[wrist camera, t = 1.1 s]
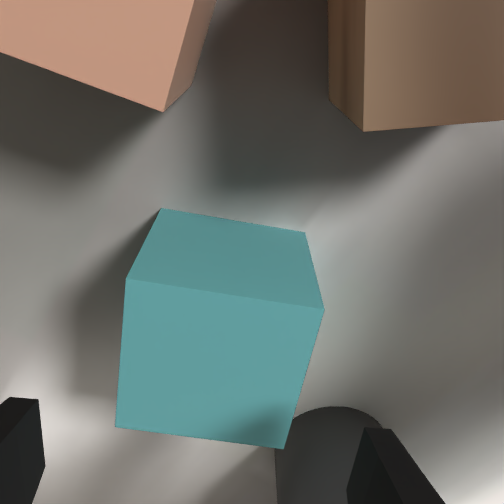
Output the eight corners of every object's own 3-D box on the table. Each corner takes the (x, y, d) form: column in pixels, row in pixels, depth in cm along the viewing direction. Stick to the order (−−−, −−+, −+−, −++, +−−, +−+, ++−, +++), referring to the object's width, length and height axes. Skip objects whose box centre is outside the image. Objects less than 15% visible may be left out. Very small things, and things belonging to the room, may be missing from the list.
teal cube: (304, 231, 16) (324, 309, 12) (276, 346, 18) (283, 449, 14) (161, 207, 16) (126, 278, 11) (149, 327, 18) (114, 427, 14)
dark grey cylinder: (402, 415, 20) (446, 528, 15) (369, 493, 22) (399, 613, 18) (287, 398, 20) (297, 509, 15) (264, 480, 22) (268, 598, 17)
